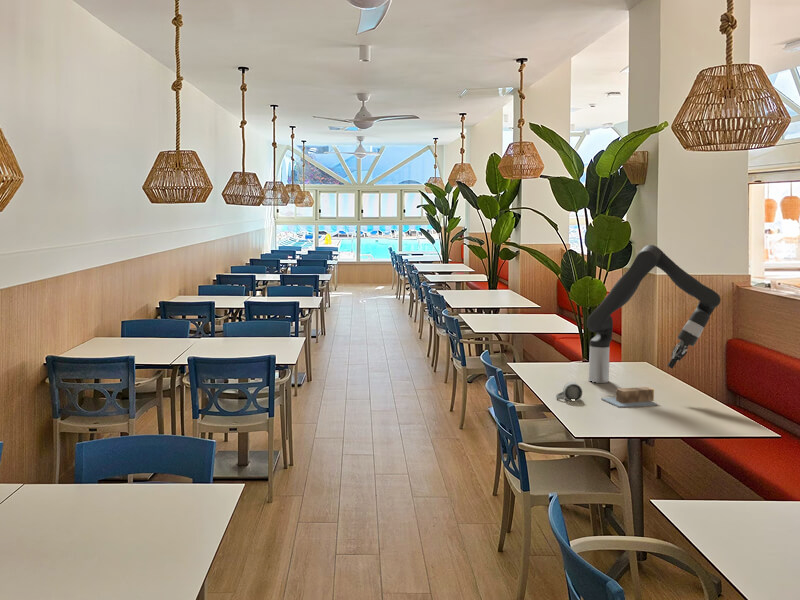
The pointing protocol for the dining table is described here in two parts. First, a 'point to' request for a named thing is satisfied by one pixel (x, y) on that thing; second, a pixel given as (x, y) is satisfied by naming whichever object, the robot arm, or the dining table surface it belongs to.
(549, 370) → the dining table surface
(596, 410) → the dining table surface
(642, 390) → the walnut block
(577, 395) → the ceramic mug
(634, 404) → the slate mat
